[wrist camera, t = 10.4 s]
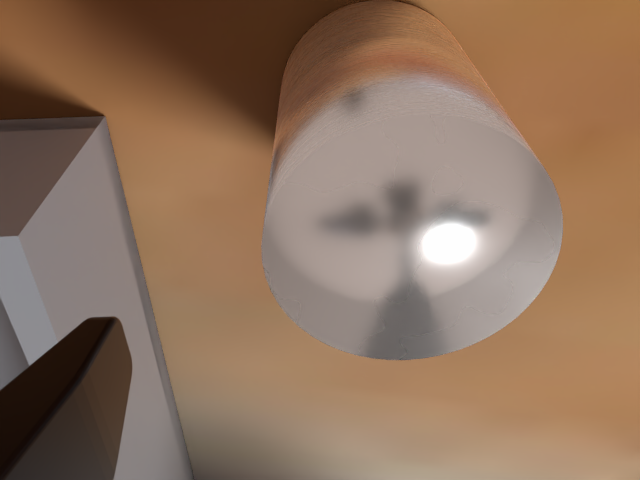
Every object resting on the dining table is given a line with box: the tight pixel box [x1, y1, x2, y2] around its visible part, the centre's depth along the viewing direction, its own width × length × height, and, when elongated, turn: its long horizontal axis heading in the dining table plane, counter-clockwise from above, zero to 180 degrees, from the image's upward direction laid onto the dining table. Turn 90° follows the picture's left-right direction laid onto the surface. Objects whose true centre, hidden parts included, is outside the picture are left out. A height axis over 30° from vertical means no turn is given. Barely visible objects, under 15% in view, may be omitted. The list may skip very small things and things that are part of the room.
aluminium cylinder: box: [261, 0, 563, 360], centre depth 13 cm, size 5×5×7 cm
